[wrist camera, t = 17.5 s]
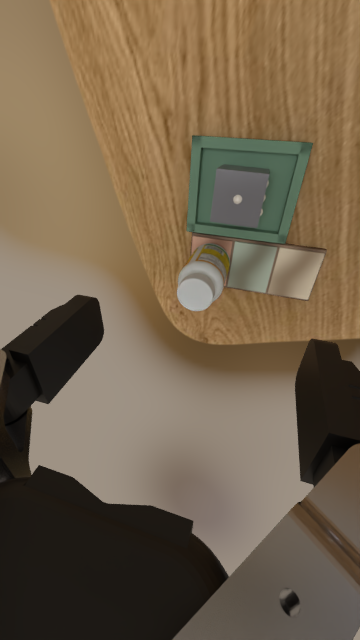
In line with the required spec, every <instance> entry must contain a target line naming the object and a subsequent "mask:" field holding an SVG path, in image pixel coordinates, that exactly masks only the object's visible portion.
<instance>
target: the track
mask: <svg viewBox="0 0 360 640" xmlns="http://www.w3.org/2000/svg"><path fill="white" fill-rule="evenodd" d="M207 243H213V244H217V245H219V246H221V247H222V248H223V249H224V250H225V251H226V252H227V253H228V256H229V258H230V267H229V271H228V274H227V277H226V281H225V284H224V287H227V288H233V289H239V290H245V291H251V292H257V293H263V294H269V295H275V296H281V297H287V298H293V299H299V300H305V301H308V300H309V297H310V294H311V292H312V289H313V286H314V284H315V281H316V278H317V276H318V273H319V270H320V268H321V265H322V262H323V260H324V257H325V254H326V252H327V250H326V249H322V248H315V247H307V246H299V245H292V244H280V243H273V242H265V241H257V240H250V239H242V238H235V237H227V236H219V235H212V234H204V233H196V232H193V233H192V243H191V255H192V254H193V252H194V251H195V250H196V249H197V248H198V247H199V246H201V245H203V244H207Z"/></svg>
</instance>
